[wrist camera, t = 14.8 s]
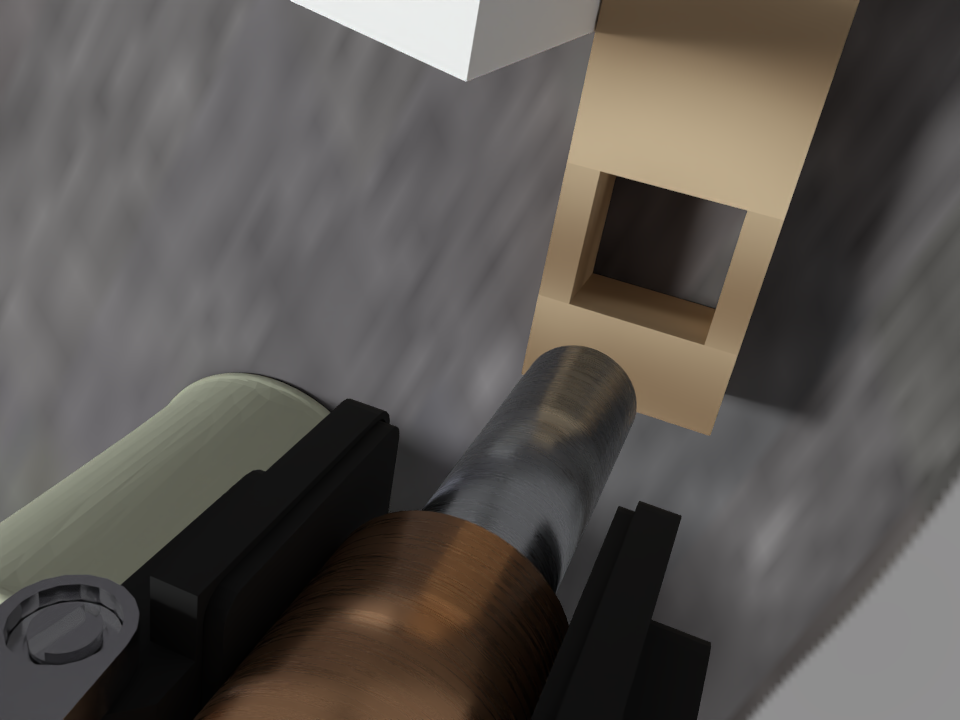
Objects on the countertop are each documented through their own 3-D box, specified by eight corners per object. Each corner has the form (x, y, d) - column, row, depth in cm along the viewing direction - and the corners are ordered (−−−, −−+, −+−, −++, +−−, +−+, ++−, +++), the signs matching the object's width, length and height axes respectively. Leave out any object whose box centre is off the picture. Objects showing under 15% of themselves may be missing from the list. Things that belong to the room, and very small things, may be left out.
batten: (680, -245, 19) (659, -266, 17) (927, -208, 18) (936, -226, 16) (547, 339, 26) (521, 373, 24) (721, 394, 25) (710, 435, 23)
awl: (513, 294, 15) (83, 744, 7) (688, 349, 15) (457, 928, 6) (483, 443, 17) (96, 970, 8) (641, 499, 16) (400, 1140, 7)
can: (248, 319, 29) (-73, 526, 19) (441, 526, 30) (230, 832, 20) (119, 457, 34) (-192, 682, 24) (288, 634, 35) (55, 924, 25)
